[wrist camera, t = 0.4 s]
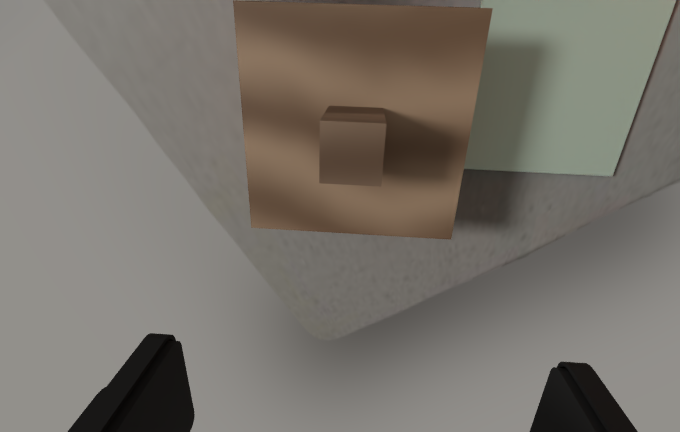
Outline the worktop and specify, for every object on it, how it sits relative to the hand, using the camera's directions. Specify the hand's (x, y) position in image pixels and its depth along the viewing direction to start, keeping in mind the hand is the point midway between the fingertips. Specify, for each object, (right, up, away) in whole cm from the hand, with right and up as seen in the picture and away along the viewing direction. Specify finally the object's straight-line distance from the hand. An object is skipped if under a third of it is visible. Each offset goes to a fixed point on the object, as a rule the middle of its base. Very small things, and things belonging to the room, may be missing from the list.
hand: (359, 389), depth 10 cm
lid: (+1, +11, +16) cm, 20 cm away
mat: (+16, +16, +19) cm, 29 cm away
